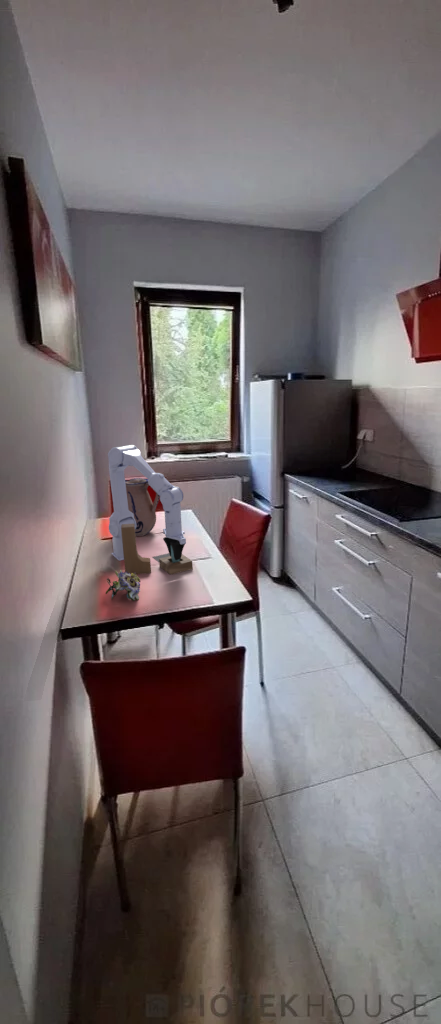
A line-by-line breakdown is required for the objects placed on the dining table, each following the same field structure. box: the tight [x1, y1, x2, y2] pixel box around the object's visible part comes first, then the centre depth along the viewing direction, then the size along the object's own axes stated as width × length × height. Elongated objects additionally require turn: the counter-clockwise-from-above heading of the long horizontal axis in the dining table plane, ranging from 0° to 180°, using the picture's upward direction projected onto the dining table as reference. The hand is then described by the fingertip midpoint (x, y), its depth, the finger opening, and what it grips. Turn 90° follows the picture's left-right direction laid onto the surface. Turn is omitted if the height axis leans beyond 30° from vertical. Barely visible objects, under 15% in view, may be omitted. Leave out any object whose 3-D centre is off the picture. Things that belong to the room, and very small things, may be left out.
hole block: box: [158, 553, 194, 575], centre depth 155 cm, size 9×9×4 cm
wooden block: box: [121, 524, 152, 575], centre depth 150 cm, size 9×4×18 cm, turn 101°
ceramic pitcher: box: [125, 477, 160, 537], centre depth 192 cm, size 18×21×25 cm
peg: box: [171, 547, 180, 563], centre depth 154 cm, size 3×3×9 cm
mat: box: [152, 552, 170, 563], centre depth 165 cm, size 8×8×1 cm
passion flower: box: [105, 569, 141, 602], centre depth 133 cm, size 11×11×12 cm
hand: (175, 557), depth 154 cm, fingers open, 3 cm apart
